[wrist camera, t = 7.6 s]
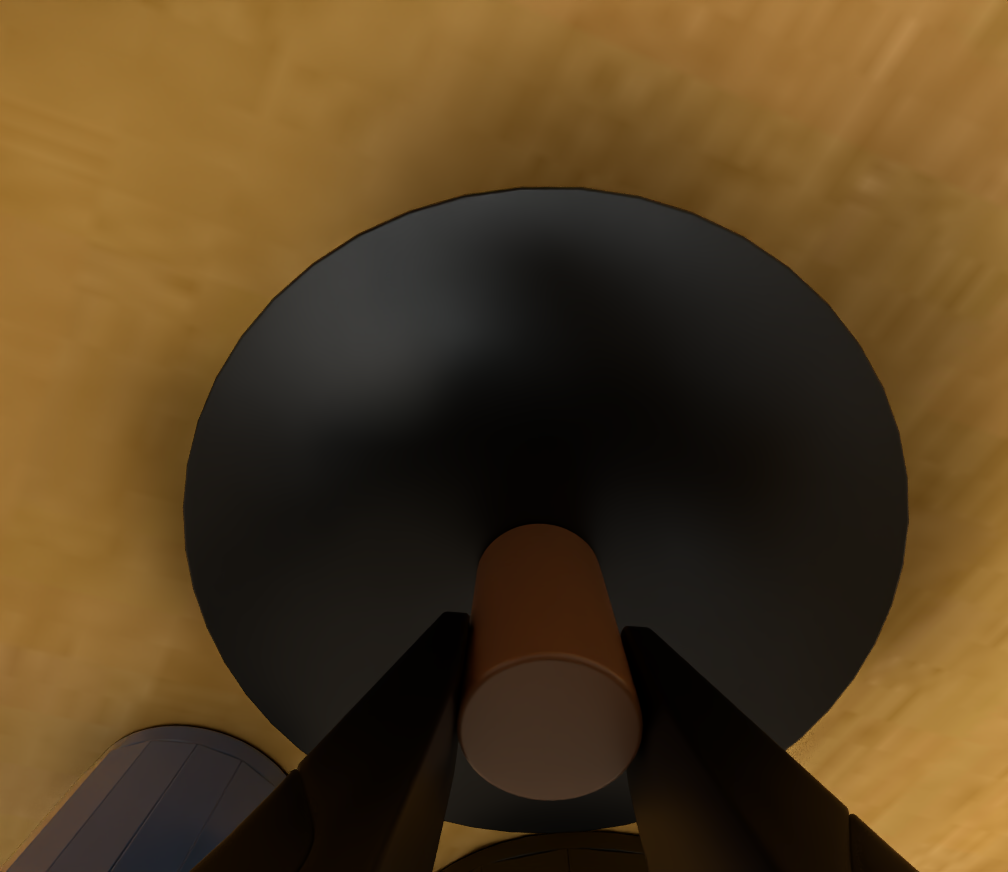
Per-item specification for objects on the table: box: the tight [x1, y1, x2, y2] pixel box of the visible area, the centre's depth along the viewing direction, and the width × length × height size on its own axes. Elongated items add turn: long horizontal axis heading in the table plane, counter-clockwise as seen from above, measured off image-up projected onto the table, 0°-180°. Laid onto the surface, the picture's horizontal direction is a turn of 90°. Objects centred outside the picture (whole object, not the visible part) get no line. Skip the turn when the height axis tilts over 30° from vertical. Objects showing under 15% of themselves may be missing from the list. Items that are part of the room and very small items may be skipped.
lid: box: [183, 186, 909, 833], centre depth 9 cm, size 14×14×5 cm
